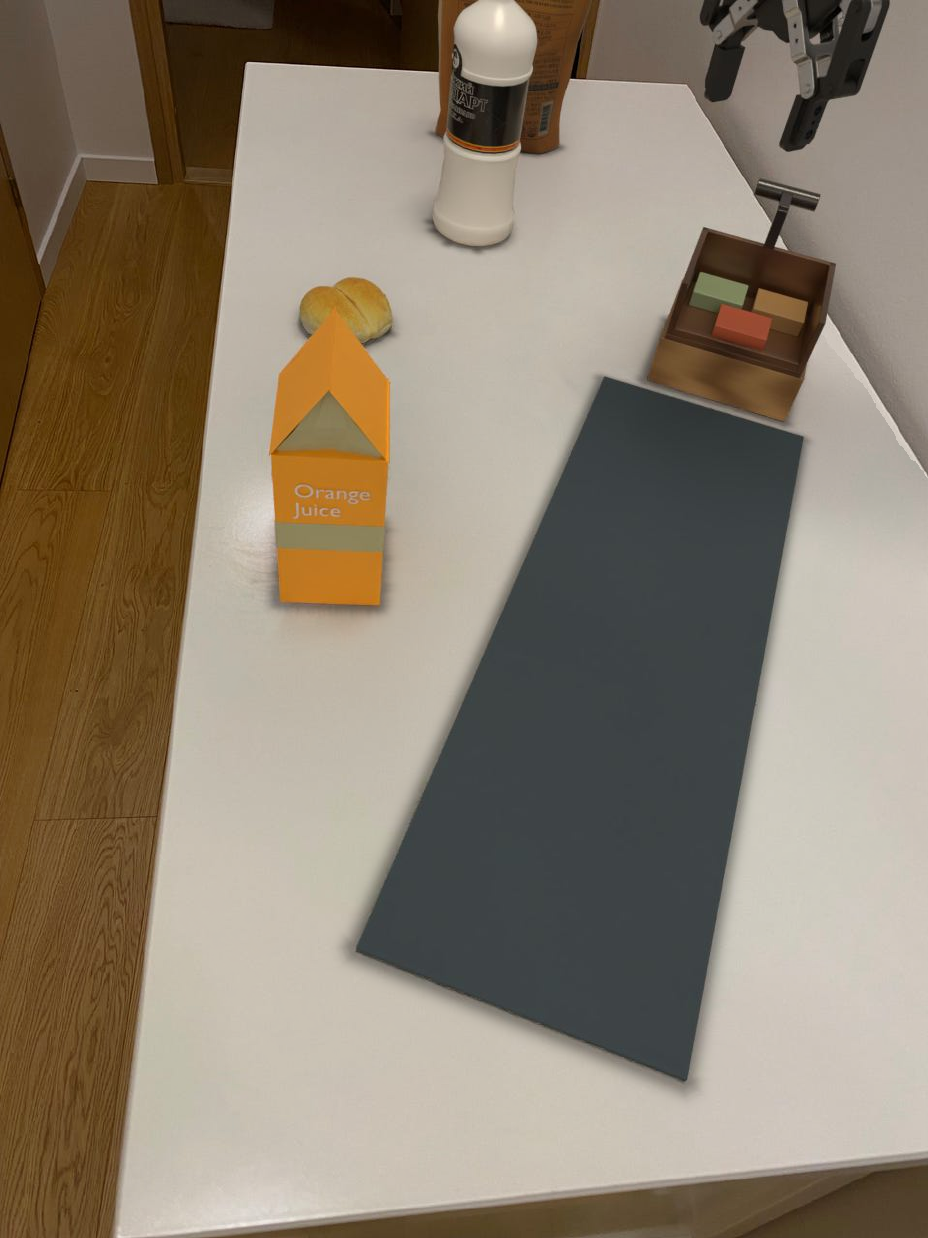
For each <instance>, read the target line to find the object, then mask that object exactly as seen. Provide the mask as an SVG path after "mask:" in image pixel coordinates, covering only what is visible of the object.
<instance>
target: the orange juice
mask: <svg viewBox="0 0 928 1238" xmlns="http://www.w3.org/2000/svg"><path fill="white" fill-rule="evenodd" d="M390 439H391V382H390V378H387V376H386V375H385V373H384V372H383V371H382V369H381V368H380V367H379V366H378V364H377V363H376V362H375V359H373V358H372V356H371V355H370V353H369V352H368V351H367V349H366V348H365V347H364V346H363V343H362V344H361V343H360V342H359V340H358V339H357V338H356V336H355V335H354V334H353V332H352V331H351V330H350V328H349V327H348V326H347V324H346V323H345V322H344V320H343V319H342V318H341V316H340V315H339V314H338V312H337V311H336V307H335V308H334V310H333V311H332V312H331V313H330V314H329V316H328V317H327V318H326V319H325V320H324V321H323V323H322V324H321V325H320V326H319V327H318V329H317V330H316V331H315V332H314V333H313V334H312V335H311V336H310V337H309V338H308V339H307V340H306V341H305V343H304V344H303V345H302V346H301V347H300V348H299V350H298V351H297V352H296V353H295V354H294V356H292V358H291V359H290V360H289V362H288V363H287V364H286V365H285V367H284V368H282V370H281V371H280V372H279V373H278V380H277V387H276V396H275V403H274V411H273V419H272V427H271V435H270V443H269V449H268V450H269V451H268V457H270V465H271V471H270V475H271V482H272V495H273V509H274V510H273V511H274V535H275V549H276V556H277V557H276V558H277V559H276V560H277V573H278V574H277V575H278V586H279V587H278V589H279V602H280V603H294V604H295V603H299V604H325V605H352V606H353V605H354V606H355V605H356V606H357V605H358V606H380V605H381V589H382V574H383V573H382V572H383V558H384V557H383V556H384V549H385V532H386V509H387V495H388V494H387V493H388V485H389V481H388V479H389V465H390V462H391V461H390V458H391V457H390V455H391V453H390V452H391V449H390V447H391V446H390V442H391V440H390Z"/></svg>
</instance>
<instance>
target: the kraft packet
mask: <svg viewBox="0 0 928 1238" xmlns="http://www.w3.org/2000/svg"><path fill="white" fill-rule="evenodd" d="M807 306H808V302H806V301H802V300H799V299H795V298H792V297H788V296H784V295H781V294H777V293H774V292H770V291H767V290H763V289H760V288H759V289H758V292H757V294H756V297H755V299H754V302H753V305H752V309H751V313H755V314H758V315H762V316H765V317H769V318H772V322H771V326H770V329H772V330H776V331H779V332H783V333H786V334H789V335H793V336H796V337H798V335H799V333H800V331H801V329H802V326H803V324H804V320H805V316H806V311H807Z"/></svg>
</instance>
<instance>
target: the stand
mask: <svg viewBox="0 0 928 1238" xmlns="http://www.w3.org/2000/svg"><path fill="white" fill-rule="evenodd" d="M682 281H683V279H682V280H681V282H680V285H679V287H678V289H677V292H676V295H675V298H674V300H673V303H672V305H671V308H670V311H669V314H668V315H667V318H666V320H665V324H664V327H663V329H662V331H661V334H660V336H659V338H658V343H657V346H656V349H655V352H654V355H653V359H652V362H651V365H650V368H649V372H648V374H647V377H646V381H648V382H650V383H655V384H657V385H661V386H664V387H668V388H671V389H674V390H678V391H680V392H684V393H687V394H691V395H694V396H698V397H701V398H704V399H707V400H711V401H714V402H718V403H722V404H724V405H728V406H730V407H734V408H737V409H741V410H744V411H746V412H747V411H748V412H750V413H754V414H757V415H759V416H764V417H768V418H771V419H774V420H777V421H781V422H786V419H787V417H788V415H789V413H790V411H791V410H792V409H791V408H792V407H793V405H794V402H795V400H796V398H797V396H798V394H799V391H800V389H801V387H802V386H803V383H804V381H805V375H806V371H807V367H808V363H807V364H806V367H805V369H804V371H803V373H802V375H801V377H800V378H797V377H793V376H790V375H786V374H783V373H780V372H776V371H773V370H770V369H766V368H763V367H759V366H756V365H753V364H749V363H746V362H742V361H739V360H736V359H732V358H729V357H725V356H722V355H719V354H715V353H712V352H709V351H705V350H702V349H698V348H695V347H692V346H688V345H685V344H681V343H678V342H675V341H671V340H668V339H665V338H664V337H665V334H666V331H667V328H668V325H669V322H670V318H671V315H672V312H673V309H674V306H675V303H676V300H677V296H678V293H679V290H680V287H681V284H682Z"/></svg>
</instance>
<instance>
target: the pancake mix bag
mask: <svg viewBox="0 0 928 1238" xmlns="http://www.w3.org/2000/svg"><path fill="white" fill-rule="evenodd" d="M477 1H478V0H438V9H437V10H438V11H437V20H438V21H437V23H438V25H437V26H438V27H437V28H438V91H439V92H438V94H439V110H440V111H439V115H438V118H437V121H436V126H435V130H434V133H435V134H437V135H438V136H440V137H441V138H443V137H444V134H445V132H446V126H447V115H448V104H449V94H450V83H451V72H452V61H453V59H452V54H453V51H454V26H455V23H456V20H457V18H458V16H459V15H460V14H461V12H462V11H463V10H464V9H466V8H467V7H469V6H470V5H472V4H474V3H475V2H477ZM514 1H515V2H516V3H517V4H518V5H519V6H520V7H521V8H522V9H523V10H524V11H525V12H526V13H527V15H528V16H529V17H530V18H531V19H532V21H533V22H534V25H535V27H536V33H537V47H536V51H535V55H534V59H533V63H532V65H533V71H532V74H531V76H530V79H529V86H528V92H527V99H526V105H525V112H524V118H523V125H522V131H521V138H520V144H521V151H520V153H521V152H522V153H528V154H534V155H535V154H537V155H539V154H546V153H549V152H551V151H553V150H555V149H556V148H558V147H560V146H561V142H560V140H561V139H560V138H561V137H560V122H561V114H562V113H561V112H562V107H563V102H564V99H565V95H566V91H567V88H568V86H569V85H570V84H569V83H570V80H571V77H572V71H573V66H574V62H575V58H576V54H577V49H578V43H579V40H580V37H581V34H582V32H583V29H584V27H585V23H586V21H587V18H588V15H589V12H590V9H591V7H592V3H593V0H514Z"/></svg>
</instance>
